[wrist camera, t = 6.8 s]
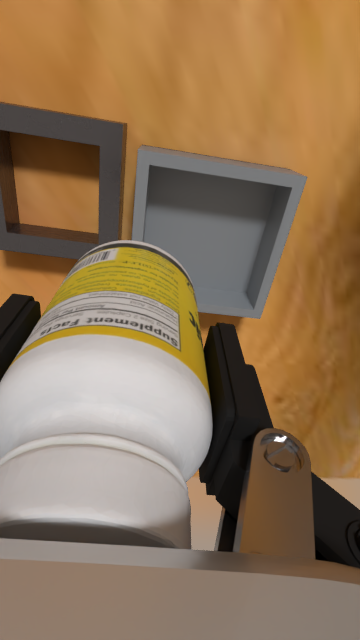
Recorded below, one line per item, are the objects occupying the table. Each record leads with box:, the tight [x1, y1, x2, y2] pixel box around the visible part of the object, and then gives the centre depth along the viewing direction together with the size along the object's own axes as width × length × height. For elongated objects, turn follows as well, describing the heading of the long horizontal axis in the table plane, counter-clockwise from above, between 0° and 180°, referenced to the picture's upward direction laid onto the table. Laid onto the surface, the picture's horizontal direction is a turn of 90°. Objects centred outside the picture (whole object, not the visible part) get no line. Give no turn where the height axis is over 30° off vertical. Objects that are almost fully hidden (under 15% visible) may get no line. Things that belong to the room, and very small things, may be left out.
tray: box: [132, 145, 307, 319], centre depth 26 cm, size 12×12×4 cm
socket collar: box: [0, 102, 127, 259], centre depth 24 cm, size 10×10×2 cm
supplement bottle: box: [0, 240, 213, 550], centre depth 10 cm, size 5×5×10 cm
